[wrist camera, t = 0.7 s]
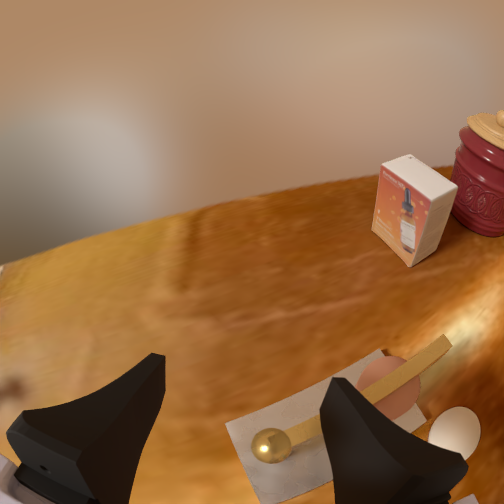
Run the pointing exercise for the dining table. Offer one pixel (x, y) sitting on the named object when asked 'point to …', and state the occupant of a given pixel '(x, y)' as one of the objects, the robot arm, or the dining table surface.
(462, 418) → the coaster
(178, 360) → the dining table surface
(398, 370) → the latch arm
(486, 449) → the dining table surface
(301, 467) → the plate
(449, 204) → the small box
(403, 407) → the cap
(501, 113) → the canister
